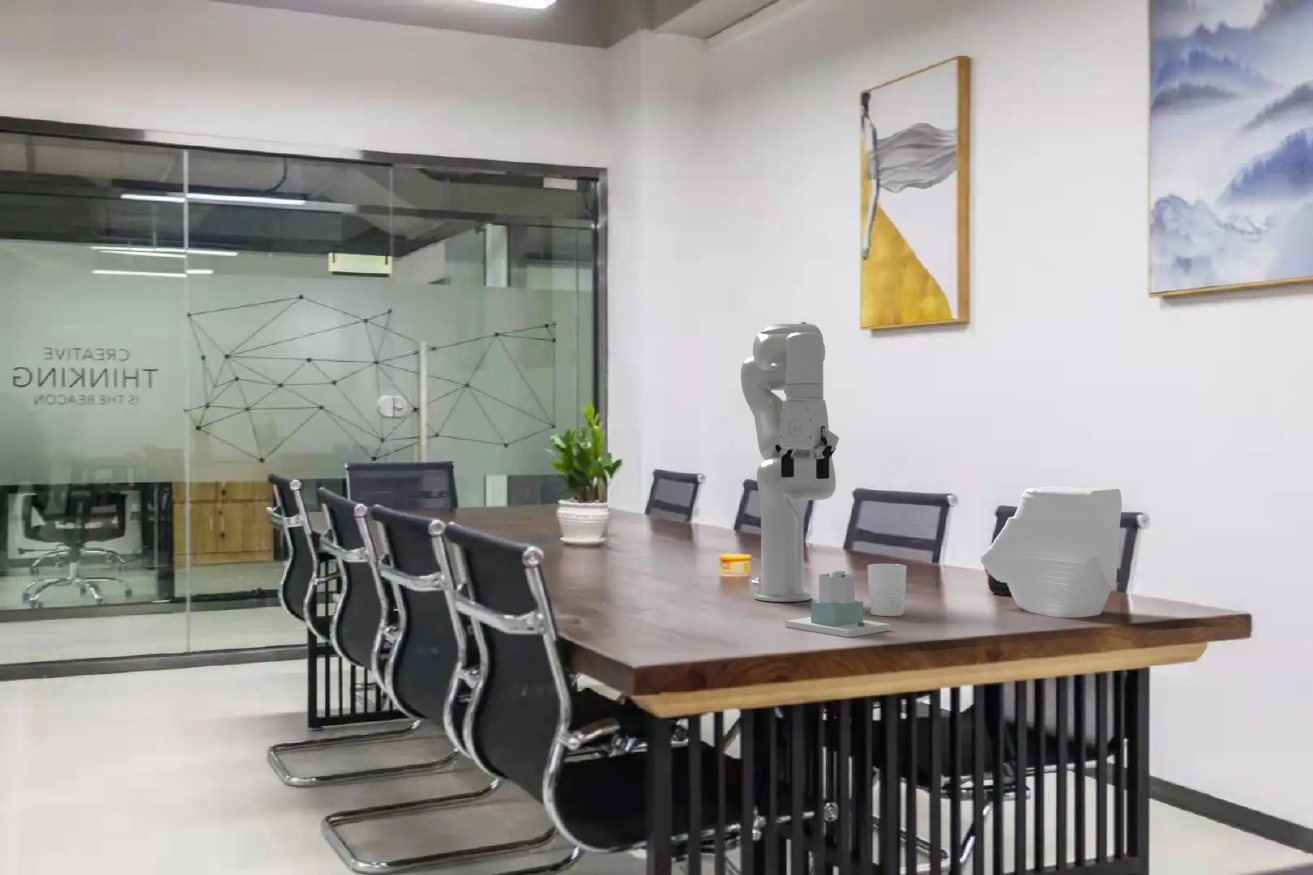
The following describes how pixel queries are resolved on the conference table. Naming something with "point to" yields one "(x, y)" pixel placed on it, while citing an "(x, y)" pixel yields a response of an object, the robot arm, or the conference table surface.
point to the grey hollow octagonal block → (836, 589)
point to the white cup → (887, 589)
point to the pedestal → (837, 618)
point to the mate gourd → (998, 586)
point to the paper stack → (1059, 550)
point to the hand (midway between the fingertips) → (804, 477)
